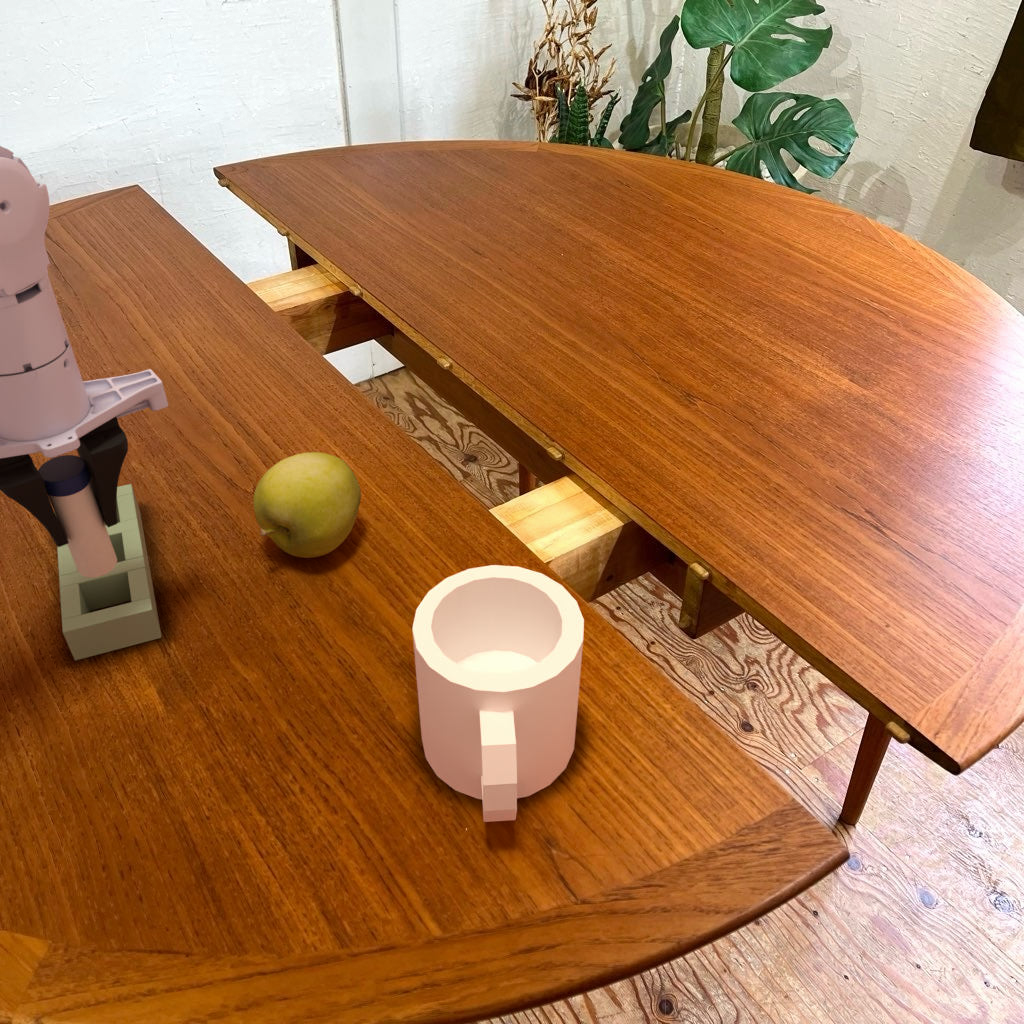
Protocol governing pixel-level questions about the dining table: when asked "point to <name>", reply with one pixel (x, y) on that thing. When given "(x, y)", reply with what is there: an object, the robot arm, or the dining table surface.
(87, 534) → the test tube
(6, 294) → the robot arm
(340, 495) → the apple
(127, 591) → the tube rack
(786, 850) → the dining table surface
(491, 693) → the mug
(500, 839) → the dining table surface
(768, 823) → the dining table surface
